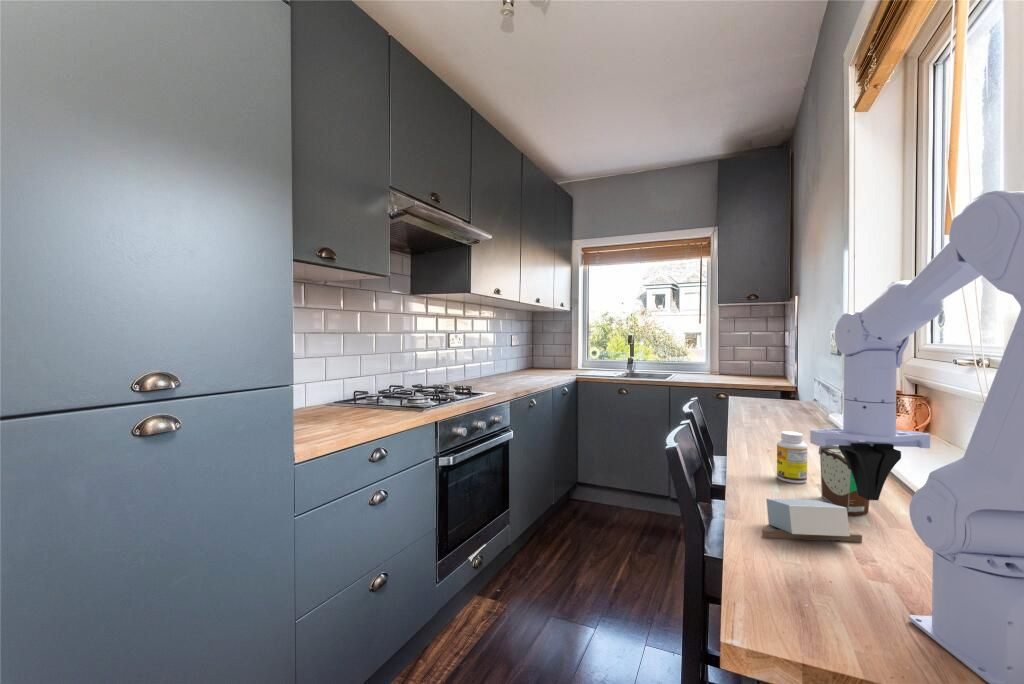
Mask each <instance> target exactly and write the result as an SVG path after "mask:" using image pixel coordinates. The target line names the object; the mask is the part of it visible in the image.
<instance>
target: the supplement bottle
mask: <svg viewBox="0 0 1024 684" xmlns="http://www.w3.org/2000/svg"><path fill="white" fill-rule="evenodd" d="M780 437H781V439H780V440H777V442H776V477H777V478H778V479H779V480H780V481H783V482H785V483H791V484H804V483H806V482H807V480H808V444H807V443H805V442H804V434H803V433H801V432H797V431H789V430H788V431H787V430H786V431H785V430H784V431H781V433H780Z"/></svg>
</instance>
